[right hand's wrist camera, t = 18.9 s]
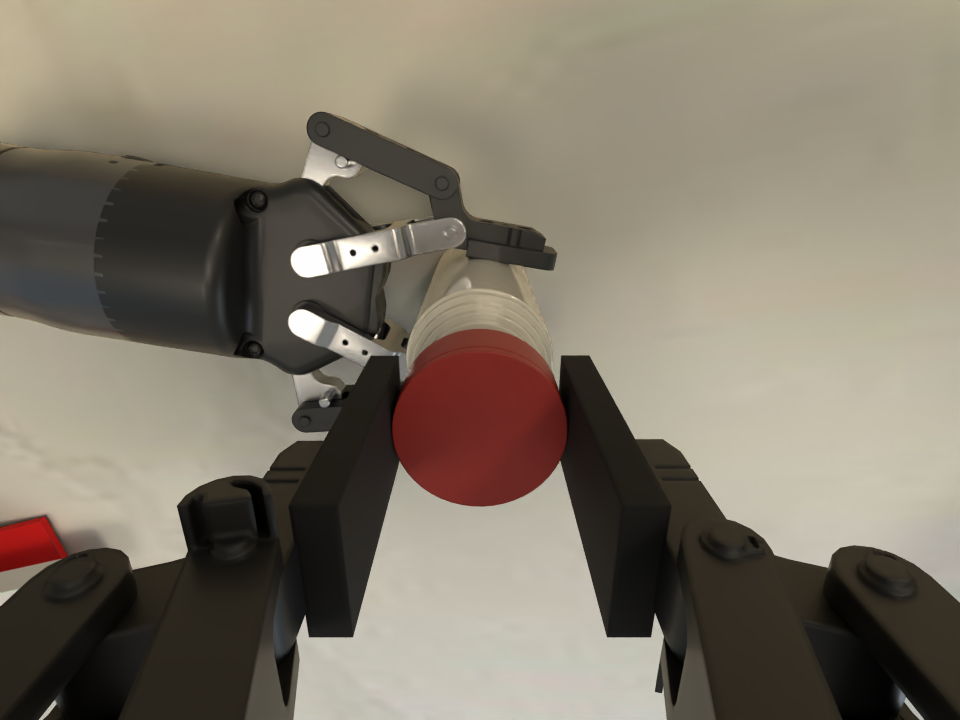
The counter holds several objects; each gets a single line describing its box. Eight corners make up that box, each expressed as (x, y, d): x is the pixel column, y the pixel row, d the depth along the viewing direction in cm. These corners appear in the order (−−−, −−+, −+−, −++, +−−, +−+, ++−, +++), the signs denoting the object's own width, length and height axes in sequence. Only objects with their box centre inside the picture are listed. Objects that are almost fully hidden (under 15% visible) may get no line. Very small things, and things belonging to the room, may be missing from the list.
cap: (417, 311, 14) (408, 333, 12) (577, 347, 14) (590, 372, 12) (389, 453, 15) (378, 489, 13) (534, 481, 15) (541, 520, 14)
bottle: (486, 337, 30) (494, 532, 15) (418, 286, 29) (346, 436, 14) (542, 271, 29) (615, 408, 13) (472, 215, 28) (462, 290, 12)
